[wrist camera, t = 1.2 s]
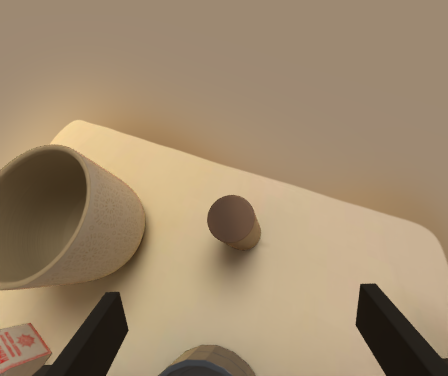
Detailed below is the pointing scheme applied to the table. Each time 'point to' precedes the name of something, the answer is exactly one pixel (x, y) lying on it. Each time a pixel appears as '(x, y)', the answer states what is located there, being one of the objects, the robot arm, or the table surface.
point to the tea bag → (21, 351)
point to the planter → (64, 220)
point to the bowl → (208, 363)
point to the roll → (234, 222)
